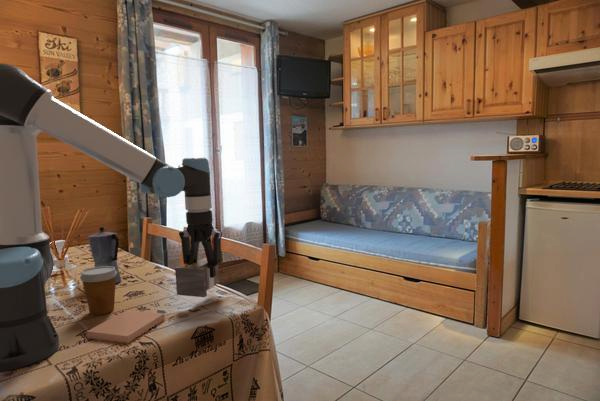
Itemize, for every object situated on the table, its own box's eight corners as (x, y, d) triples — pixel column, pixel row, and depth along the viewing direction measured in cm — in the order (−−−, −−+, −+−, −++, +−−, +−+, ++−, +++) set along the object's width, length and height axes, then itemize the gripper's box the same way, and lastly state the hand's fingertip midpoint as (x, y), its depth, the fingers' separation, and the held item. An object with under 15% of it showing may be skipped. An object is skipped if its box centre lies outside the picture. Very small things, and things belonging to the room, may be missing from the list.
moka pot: (106, 276, 150) (102, 223, 147) (135, 281, 142) (131, 226, 140) (82, 284, 141) (77, 228, 139) (111, 290, 134) (106, 231, 132)
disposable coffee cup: (127, 305, 119) (123, 266, 118) (105, 318, 110) (101, 275, 109) (99, 304, 121) (95, 265, 120) (75, 316, 112) (71, 274, 110)
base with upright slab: (57, 268, 164) (54, 239, 162) (75, 269, 161) (72, 240, 160) (37, 275, 155) (34, 244, 154) (56, 276, 153) (53, 245, 151)
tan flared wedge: (204, 297, 113) (202, 269, 112) (177, 294, 115) (175, 267, 114) (226, 282, 125) (225, 257, 124) (201, 280, 128) (199, 256, 127)
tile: (164, 321, 108) (128, 344, 94) (127, 317, 111) (87, 339, 98) (164, 313, 108) (127, 336, 94) (127, 309, 111) (86, 331, 98)
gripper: (231, 208, 119) (235, 285, 122) (181, 208, 124) (186, 281, 127) (218, 212, 112) (223, 293, 115) (166, 211, 117) (172, 289, 120)
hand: (203, 287), depth 121 cm, fingers closed on tan flared wedge, 4 cm apart
